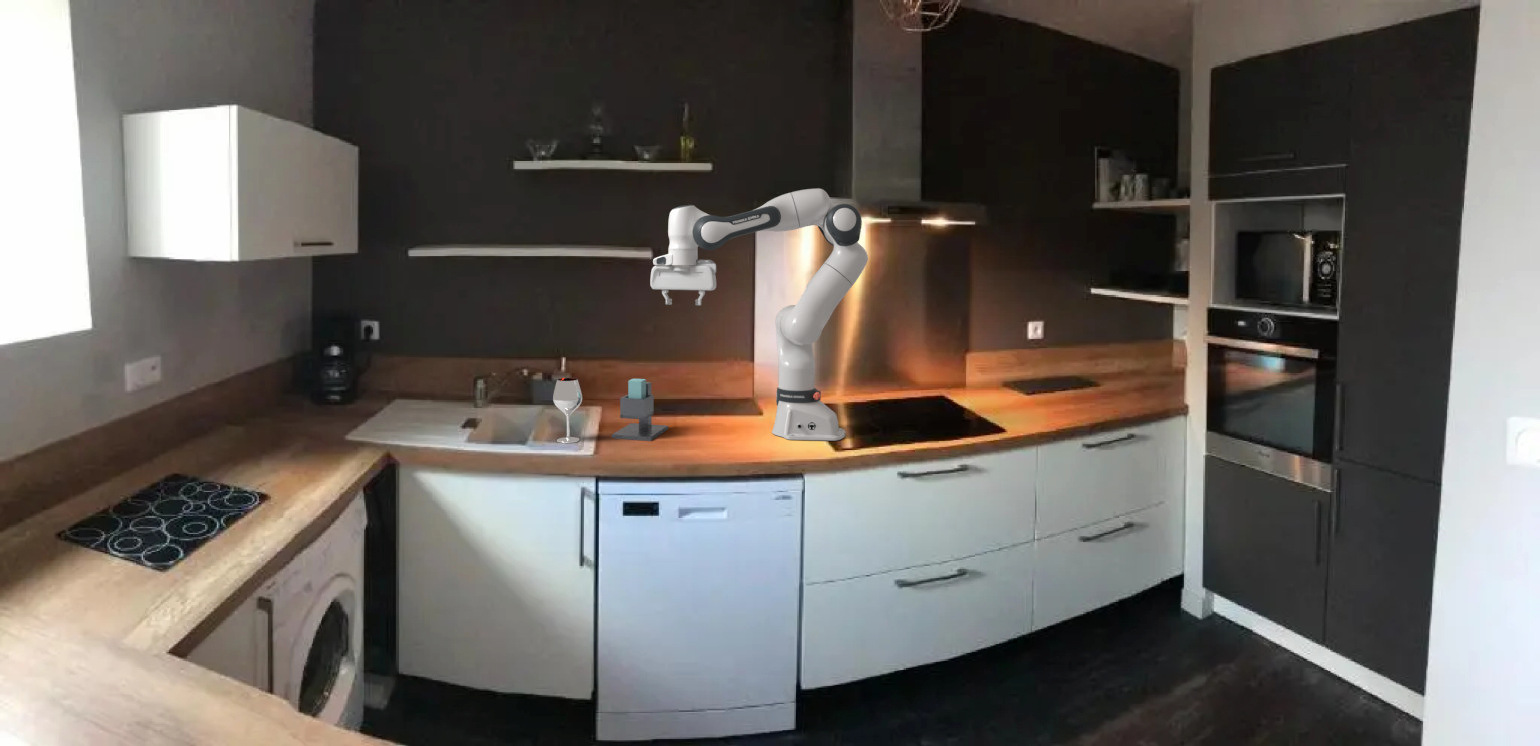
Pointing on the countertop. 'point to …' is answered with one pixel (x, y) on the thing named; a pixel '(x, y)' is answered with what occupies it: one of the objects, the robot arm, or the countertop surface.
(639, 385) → the teal rectangular block
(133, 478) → the countertop surface
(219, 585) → the countertop surface
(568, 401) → the wineglass
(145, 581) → the countertop surface
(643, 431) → the stand
